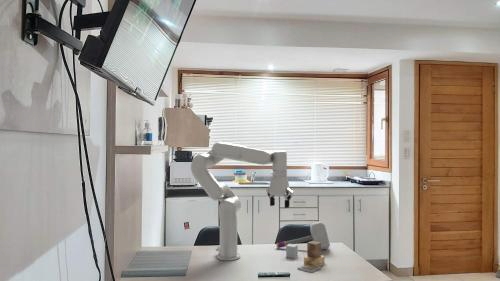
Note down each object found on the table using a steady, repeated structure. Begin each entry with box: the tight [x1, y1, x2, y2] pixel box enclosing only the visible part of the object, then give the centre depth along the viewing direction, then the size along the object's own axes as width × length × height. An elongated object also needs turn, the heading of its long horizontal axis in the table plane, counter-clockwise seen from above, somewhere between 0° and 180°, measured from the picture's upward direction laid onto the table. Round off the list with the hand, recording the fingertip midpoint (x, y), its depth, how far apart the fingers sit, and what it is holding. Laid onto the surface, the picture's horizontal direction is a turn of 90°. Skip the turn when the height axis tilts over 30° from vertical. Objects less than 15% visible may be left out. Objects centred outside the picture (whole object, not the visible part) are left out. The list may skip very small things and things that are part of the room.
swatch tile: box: [297, 264, 322, 274], centre depth 176 cm, size 8×8×1 cm
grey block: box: [285, 243, 299, 259], centre depth 198 cm, size 5×5×6 cm
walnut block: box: [306, 240, 322, 258], centre depth 185 cm, size 5×5×7 cm
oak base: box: [303, 254, 326, 268], centre depth 185 cm, size 8×8×4 cm
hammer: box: [275, 220, 331, 251], centre depth 213 cm, size 15×8×30 cm
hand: (279, 206), depth 191 cm, fingers open, 9 cm apart
